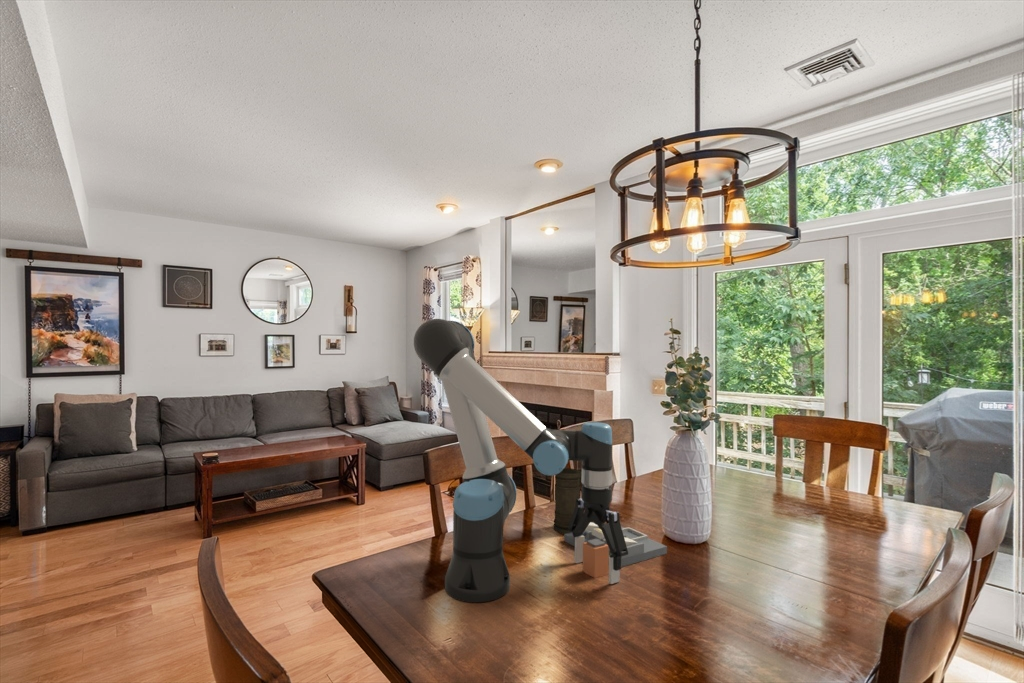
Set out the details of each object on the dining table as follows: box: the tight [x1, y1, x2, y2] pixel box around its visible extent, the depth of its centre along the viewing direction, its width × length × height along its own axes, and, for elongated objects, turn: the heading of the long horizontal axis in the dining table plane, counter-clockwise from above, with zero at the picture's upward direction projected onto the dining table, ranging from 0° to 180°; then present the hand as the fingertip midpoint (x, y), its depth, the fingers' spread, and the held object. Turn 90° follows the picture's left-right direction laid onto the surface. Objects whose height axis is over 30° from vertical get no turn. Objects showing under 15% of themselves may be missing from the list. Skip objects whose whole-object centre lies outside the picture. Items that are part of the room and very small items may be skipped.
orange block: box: [582, 539, 609, 579], centre depth 123 cm, size 4×4×8 cm
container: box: [552, 467, 582, 535], centre depth 152 cm, size 9×9×18 cm
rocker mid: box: [592, 528, 605, 539], centre depth 137 cm, size 7×4×2 cm, turn 121°
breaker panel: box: [563, 522, 668, 568], centre depth 138 cm, size 19×21×4 cm
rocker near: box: [624, 537, 638, 546], centre depth 131 cm, size 7×4×2 cm, turn 121°
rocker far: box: [585, 522, 599, 531], centre depth 143 cm, size 7×4×2 cm, turn 121°
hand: (596, 571), depth 123 cm, fingers open, 12 cm apart
